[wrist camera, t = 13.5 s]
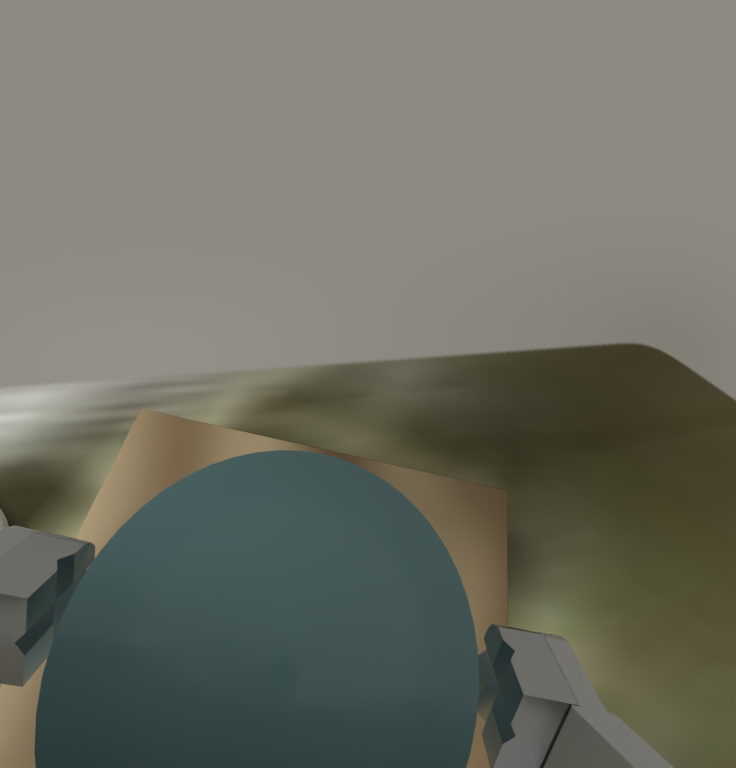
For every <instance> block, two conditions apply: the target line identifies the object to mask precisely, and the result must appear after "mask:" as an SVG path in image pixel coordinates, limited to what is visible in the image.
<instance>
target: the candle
mask: <svg viewBox="0 0 736 768" xmlns="http://www.w3.org/2000/svg"><path fill="white" fill-rule="evenodd" d="M6 527H9V525H8V522H7V519H6V517H5V515H4V513H3V511H2V510H1V509H0V531H2V530H3V529H5V528H6Z"/></svg>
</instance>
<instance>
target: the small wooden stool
mask: <svg viewBox="0 0 736 768" xmlns="http://www.w3.org/2000/svg"><path fill="white" fill-rule="evenodd" d="M276 450H291V451H306V452H313V453H319V454H325V455H328V456H332V457H335V458H339V459H342V460H345V461H348V462H350V463H352V464H355V465H357V466H360V467H362V468H364V469H366V470H368V471H370V472H371V473H373V474H375V475H376V476H378V477H380V478H382V479H383V480H385V481H386V482H387V483H389V484H390V485H391V486H393V487H394V488H395V489H397V490H398V491H399V492H401V493H402V494H403V495H404V496H405V497H406V498H407V499H408V500H409V501H410V502H411V503H412V504H413V505H414V506H415V507H416V508H417V509H418V510H419V511H420V512H421V513H422V514H423V516H424V517H425V518H426V519H427V521H428V522H429V523H430V524H431V525H432V527H433V528H434V529H435V531H436V533H437V534H438V536H439V537H440V539H441V540H442V542H443V543H444V545H445V547H446V548H447V550H448V552H449V554H450V556H451V558H452V560H453V562H454V564H455V566H456V568H457V570H458V573H459V575H460V578H461V581H462V584H463V586H464V589H465V592H466V595H467V597H468V601H469V606H470V610H471V614H472V618H473V622H474V627H475V634H476V641H477V649H478V655H479V654H480V653H482V652H483V651H485V650H486V649H487V648H486V645H485V641H484V636H485V634H486V631H487V629H488V628H489V627H490V625H491V624H496V625H502V626H507V627H508V588H507V490H503V489H499V488H494V487H490V486H485V485H481V484H476V483H472V482H467V481H463V480H458V479H454V478H449V477H445V476H440V475H436V474H431V473H427V472H422V471H418V470H413V469H409V468H404V467H400V466H395V465H391V464H386V463H382V462H377V461H373V460H368V459H364V458H359V457H355V456H350V455H346V454H341V453H337V452H332V451H328V450H324V449H319V448H315V447H310V446H306V445H301V444H297V443H292V442H288V441H283V440H279V439H274V438H270V437H265V436H261V435H256V434H252V433H247V432H243V431H238V430H234V429H229V428H225V427H220V426H216V425H211V424H207V423H202V422H198V421H193V420H189V419H184V418H180V417H175V416H171V415H166V414H162V413H157V412H153V411H148V410H144V409H140V411H139V413H138V415H137V417H136V419H135V421H134V423H133V425H132V427H131V429H130V431H129V433H128V435H127V437H126V439H125V441H124V443H123V445H122V447H121V449H120V451H119V453H118V455H117V457H116V459H115V461H114V463H113V465H112V467H111V469H110V471H109V473H108V475H107V477H106V479H105V481H104V483H103V485H102V487H101V489H100V491H99V493H98V495H97V497H96V499H95V501H94V503H93V504H92V506H91V508H90V510H89V512H88V514H87V516H86V518H85V520H84V522H83V524H82V526H81V528H80V530H79V532H78V534H77V536H76V538H75V539H79V540H84V541H88V542H91V543H92V544H94V545H95V558H96V557H97V555H98V554H99V552H100V551H101V550H102V548H103V547H104V546H105V545H106V544H107V543H108V541H109V540H110V539H111V538H112V537H113V535H114V534H115V533H116V532H117V531H118V530H119V528H120V527H121V526H122V525H123V524H124V523H126V522H127V521H128V520H129V519H130V518H131V517H132V516H133V515H134V514H135V513H136V512H137V511H138V510H139V509H140V508H141V507H142V506H144V505H145V504H146V503H148V502H149V501H150V500H151V499H153V498H154V497H155V496H157V495H158V494H159V493H161V492H162V491H163V490H165V489H166V488H168V487H170V486H171V485H173V484H174V483H176V482H178V481H179V480H181V479H183V478H184V477H186V476H188V475H190V474H192V473H194V472H196V471H198V470H201V469H203V468H205V467H207V466H209V465H212V464H215V463H218V462H221V461H223V460H226V459H229V458H232V457H237V456H241V455H246V454H251V453H255V452H265V451H276ZM89 567H90V566H89ZM89 567H88V568H89ZM88 568H87V569H86V570H88ZM47 658H48V657H47ZM46 661H47V659H46V660H45V661H44V662H43V663H42V665H41V666H40V667H39V668H38V669H37V671H36V672H35V673H34V674H33V675H32V676H31V678H30V679H29V680H28V681H27V682H26V684H25V685H24V686H23V687H20V686H13V685H6V684H2V685H1V687H0V768H36V765H35V753H34V749H35V726H36V711H37V705H38V698H39V692H40V686H41V680H42V675H43V672H44V668H45V665H46ZM485 723H486V722H485V721H484V719H483V718H482V717H481V716H480V714H479V713H478V712H477V720H476V726H475V731H474V737H473V742H472V748H471V753H470V756H469V760H468V763H467V767H466V768H490V765H489V761H488V757H487V753H486V749H485V745H484V741H483V737H482V731H483V728H484V726H485Z"/></svg>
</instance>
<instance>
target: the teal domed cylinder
mask: <svg viewBox="0 0 736 768" xmlns="http://www.w3.org/2000/svg"><path fill="white" fill-rule="evenodd" d="M478 696H479V662H478V649H477V641H476V634H475V627H474V622H473V618H472V614H471V610H470V606H469V601H468V597H467V595H466V592H465V589H464V586H463V584H462V581H461V578H460V575H459V573H458V570H457V568H456V566H455V564H454V562H453V560H452V558H451V556H450V554H449V552H448V550H447V548H446V547H445V545H444V543H443V542H442V540H441V539H440V537H439V536H438V534H437V533H436V531H435V529H434V528H433V527H432V525H431V524H430V523H429V522H428V521H427V519H426V518H425V517H424V516H423V514H422V513H421V512H420V511H419V510H418V509H417V508H416V507H415V506H414V505H413V504H412V503H411V502H410V501H409V500H408V499H407V498H406V497H405V496H404V495H403V494H402V493H401V492H399V491H398V490H397V489H395V488H394V487H393V486H391V485H390V484H389V483H387V482H386V481H385V480H383V479H382V478H380V477H378V476H376V475H375V474H373V473H371V472H370V471H368V470H366V469H364V468H362V467H360V466H357V465H355V464H352V463H350V462H348V461H345V460H342V459H339V458H335V457H332V456H328V455H325V454H319V453H313V452H306V451H291V450H276V451H265V452H255V453H251V454H246V455H241V456H237V457H232V458H229V459H226V460H223V461H221V462H218V463H215V464H212V465H209V466H207V467H205V468H203V469H201V470H198V471H196V472H194V473H192V474H190V475H188V476H186V477H184V478H183V479H181V480H179V481H178V482H176V483H174V484H173V485H171V486H170V487H168V488H166V489H165V490H163V491H162V492H161V493H159V494H158V495H157V496H155V497H154V498H153V499H151V500H150V501H149V502H148V503H146V504H145V505H144V506H142V507H141V508H140V509H139V510H138V511H137V512H136V513H135V514H134V515H133V516H132V517H131V518H130V519H129V520H128V521H127V522H126V523H124V524H123V525H122V526H121V527H120V528H119V530H118V531H117V532H116V533H115V534H114V535H113V537H112V538H111V539H110V540H109V541H108V543H107V544H106V545H105V546H104V547H103V548H102V550H101V551H100V552H99V554H98V555H97V557H96V558H95V559H94V561H93V562H92V564H91V565H90V567H89V568H88V570H87V571H86V573H85V574H84V576H83V577H82V579H81V580H80V582H79V584H78V586H77V588H76V590H75V592H74V593H73V595H72V597H71V599H70V601H69V603H68V605H67V606H66V608H65V611H64V613H63V616H62V618H61V621H60V623H59V626H58V628H57V630H56V633H55V635H54V638H53V640H52V644H51V647H50V651H49V654H48V658H47V661H46V665H45V668H44V672H43V675H42V680H41V686H40V692H39V698H38V705H37V711H36V726H35V749H34V753H35V765H36V768H466V767H467V763H468V760H469V756H470V753H471V748H472V742H473V737H474V731H475V726H476V720H477V709H478Z"/></svg>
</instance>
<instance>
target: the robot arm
mask: <svg viewBox="0 0 736 768" xmlns="http://www.w3.org/2000/svg"><path fill="white" fill-rule="evenodd" d="M94 559H95V545H94V544H92V543H91V542H88V541H84V540H79V539H75V538H71V537H66V536H62V535H58V534H53V533H49V532H44V531H38V530H33V529H29V528H25V527H20V526H16V525H15V526H11V527H6V528H5V529H3V530H2V531H0V684H6V685H13V686H20V687H23V686H24V685H25V684H26V682H27V681H28V680H29V679H30V678H31V676H32V675H33V674H34V673H35V672H36V671H37V669H38V668H39V667H40V666H41V665H42V663H43V662H44V661H45V660H46V659H47V657H48V654H49V651H50V647H51V644H52V640H53V638H54V635H55V633H56V630H57V628H58V626H59V623H60V621H61V618H62V616H63V613H64V611H65V608H66V606H67V605H68V603H69V601H70V599H71V597H72V595H73V593H74V592H75V590H76V588H77V586H78V584H79V582H80V580H81V579H82V577H83V576H84V574H85V573H86V571H87V570H86V569H87V568H88V567H89V566H90V565H91V564H92V562H93V561H94ZM484 641H485V645H486V648H487V649H486V650H485V651H483V652H482V653H480V654H479V655H478V662H479V696H478V709H477V712H478V713H479V714H480V716H481V717H482V718H483V719H484V721H485V722H486V723H485V726H484V728H483V731H482V737H483V741H484V745H485V749H486V753H487V757H488V761H489V765H490V768H673V767H672V766H671V765H670V764H669V763H668V762H667V761H666V760H665V759H664V758H662V757H661V756H660V755H659V754H658V753H657V752H656V751H655V750H654V749H653V748H652V747H650V746H649V745H648V744H647V743H646V742H645V741H644V740H643V739H642V738H641V737H639V736H638V735H637V734H636V733H635V732H634V731H633V730H632V729H631V728H630V727H628V726H627V725H626V724H625V723H624V722H623V721H622V720H621V719H620V718H619V717H618V716H616V715H615V714H614V713H609V712H606V710H605V708H604V706H603V704H602V703H601V701H600V699H599V697H598V695H597V694H596V692H595V690H594V688H593V686H592V685H591V683H590V681H589V679H588V677H587V676H586V674H585V672H584V670H583V668H582V666H581V665H580V663H579V661H578V659H577V657H576V656H575V654H574V652H573V650H572V648H571V647H570V645H569V643H568V641H567V640H566V639H564V638H563V637H562V636H557V635H552V634H546V633H541V632H538V633H536V632H532V631H527V630H522V629H517V628H512V627H507V626H502V625H496V624H491V625H490V627H489V628H488V629H487V631H486V634H485V636H484Z"/></svg>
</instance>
